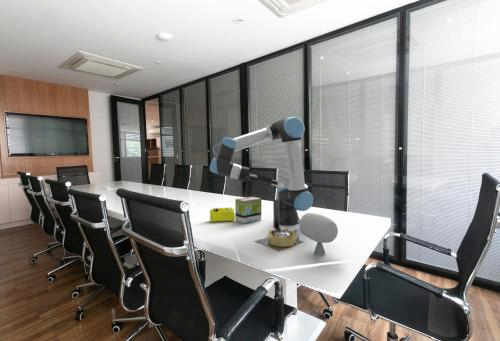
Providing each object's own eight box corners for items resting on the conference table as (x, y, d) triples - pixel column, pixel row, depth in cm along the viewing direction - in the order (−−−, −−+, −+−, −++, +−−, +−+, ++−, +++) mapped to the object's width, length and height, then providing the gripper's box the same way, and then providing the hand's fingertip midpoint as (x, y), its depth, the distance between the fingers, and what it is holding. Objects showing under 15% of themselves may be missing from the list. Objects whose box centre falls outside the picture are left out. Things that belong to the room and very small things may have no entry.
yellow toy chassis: (234, 219, 172) (233, 207, 172) (234, 221, 167) (234, 209, 166) (210, 220, 170) (209, 208, 170) (210, 222, 164) (209, 210, 164)
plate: (253, 243, 125) (253, 231, 125) (279, 235, 137) (279, 224, 136) (278, 253, 112) (278, 240, 112) (304, 243, 124) (304, 231, 123)
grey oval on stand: (327, 244, 122) (327, 208, 120) (341, 262, 102) (341, 219, 101) (295, 245, 122) (295, 209, 121) (303, 262, 102) (303, 220, 101)
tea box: (244, 224, 160) (244, 200, 159) (235, 221, 168) (234, 198, 167) (262, 219, 170) (261, 197, 169) (252, 217, 178) (251, 196, 177)
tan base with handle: (299, 245, 118) (299, 204, 117) (273, 247, 115) (273, 206, 114) (286, 234, 134) (286, 198, 132) (263, 236, 131) (263, 199, 130)
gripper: (237, 180, 137) (279, 193, 137) (237, 178, 124) (283, 192, 124) (241, 167, 138) (283, 179, 138) (242, 163, 125) (287, 177, 125)
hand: (283, 185), depth 131 cm, fingers closed
